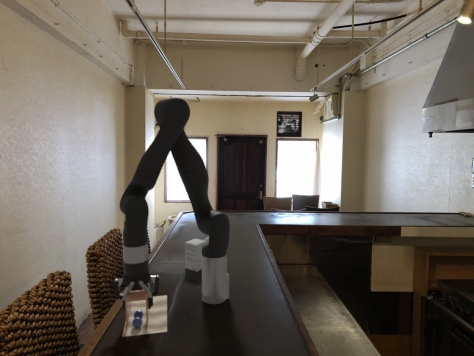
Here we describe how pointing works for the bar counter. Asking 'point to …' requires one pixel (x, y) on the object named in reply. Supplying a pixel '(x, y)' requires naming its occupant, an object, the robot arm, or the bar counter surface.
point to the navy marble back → (138, 314)
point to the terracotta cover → (136, 296)
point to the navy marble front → (137, 322)
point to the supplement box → (194, 254)
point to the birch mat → (156, 317)
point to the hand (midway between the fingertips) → (138, 308)
